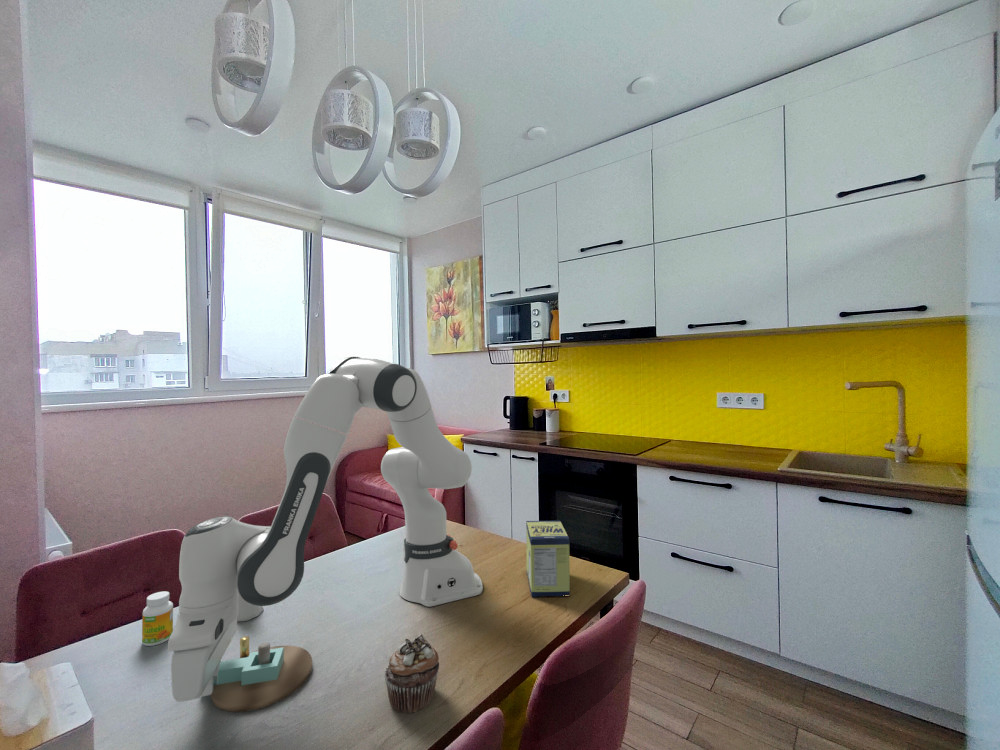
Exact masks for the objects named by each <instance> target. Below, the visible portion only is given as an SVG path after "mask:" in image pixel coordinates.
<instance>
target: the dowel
mask: <svg viewBox="0 0 1000 750" xmlns="http://www.w3.org/2000/svg"><path fill="white" fill-rule="evenodd" d="M249 653H250V636H248V635H245V636H243V637H241V638H240V639H239V658H246V657H249Z"/></svg>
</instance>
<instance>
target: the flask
mask: <svg viewBox="0 0 1000 750" xmlns="http://www.w3.org/2000/svg"><path fill="white" fill-rule="evenodd" d="M263 611H264V606H256V605H252V604H250V603H248V602H246V601H245V600H244V599H243V598H242V597H241V595H240V593H239V591H238V616H237V623H239V622H248V621H251V620H252V619H254V618H256V617H258V616H260V615H261V613H263Z"/></svg>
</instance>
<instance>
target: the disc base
mask: <svg viewBox="0 0 1000 750" xmlns="http://www.w3.org/2000/svg"><path fill="white" fill-rule="evenodd" d="M282 647H284V660H283V663H282V666H281V669H280V672H279V676H278V679H276V680H270V681H265V682H259V683H253V684H247V685H242V686H241V681H236V682H231V683H225V684H219V685H216V686H215V688H214V690H213V692H212V694H211V695H210V697H211V703H212V704H213V705H214V706H215V707H216V708H218V709H220V710H223V711H225V712H232V713H234V712H235V713H238V712H239V713H240V712H242V713H244V712H250V711H254V710H255V711H256V710H259V709H263V708H265V707H269V706H272V705H274V704H277V703H278V702H280V701H282V700H284V699H286V698H288V697H289V696H291V695H292V694H294V693H295V692H297V691H298V690H299V689H300V688H301V687H302V686H303V685H304V684H305V683H306V682H307V681H308V679H309V677H310V675H311V673H312V670H313V657H312V655H311V654H310V652H309V651H308V650H306V649H305V648H304V647H303V648H302V647H300V646H295V645H285V644H284V645H275V646H271V644H270V642H264V643H261V644H259V645H258V646H257V648H258V649H257V650H255V651H254V652H257V651H258V665H263V664H269V663H270V649H276V648H282ZM249 654H250V652H249Z"/></svg>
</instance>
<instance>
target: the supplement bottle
mask: <svg viewBox="0 0 1000 750" xmlns="http://www.w3.org/2000/svg"><path fill="white" fill-rule="evenodd" d="M141 621H142V622H141V624H142V626H141V628H142V629H141V643H142V645H143V646H145V647H146V646H147V647H154V646H157V645H160V644H163V643H165V642H167V641H169V638H170V636H171V634H172V632H173V629H174V603H173V602H172V601H170V592H169V591H166V590H165V591H157V592H154V593H152V594H150V595H148V596H147V597H146V606H145V608H143V610H142V620H141Z"/></svg>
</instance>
